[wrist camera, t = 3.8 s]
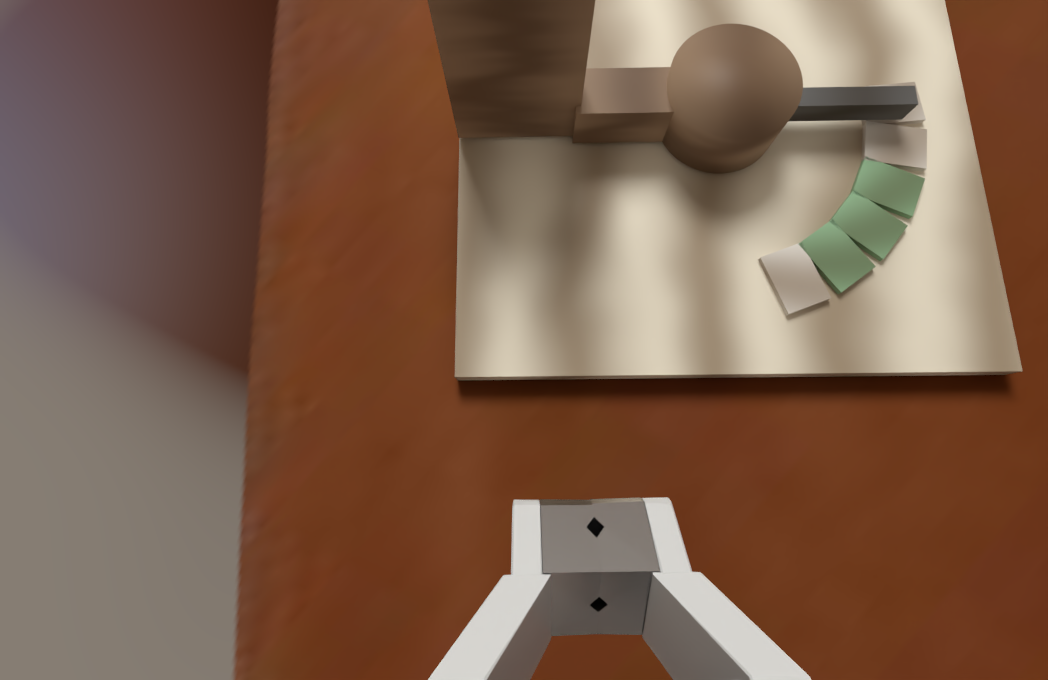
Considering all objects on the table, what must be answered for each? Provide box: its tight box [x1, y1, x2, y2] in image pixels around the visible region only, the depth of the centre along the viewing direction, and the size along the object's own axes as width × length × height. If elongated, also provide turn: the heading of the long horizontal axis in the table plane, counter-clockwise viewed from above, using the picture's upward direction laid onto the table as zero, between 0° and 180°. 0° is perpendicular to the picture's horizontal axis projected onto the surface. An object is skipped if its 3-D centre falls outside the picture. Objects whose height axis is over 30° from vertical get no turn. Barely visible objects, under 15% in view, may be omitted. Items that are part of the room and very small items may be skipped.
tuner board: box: [455, 0, 1022, 380], centre depth 29 cm, size 26×26×1 cm
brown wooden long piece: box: [428, 0, 918, 173], centre depth 24 cm, size 22×6×9 cm, turn 90°
